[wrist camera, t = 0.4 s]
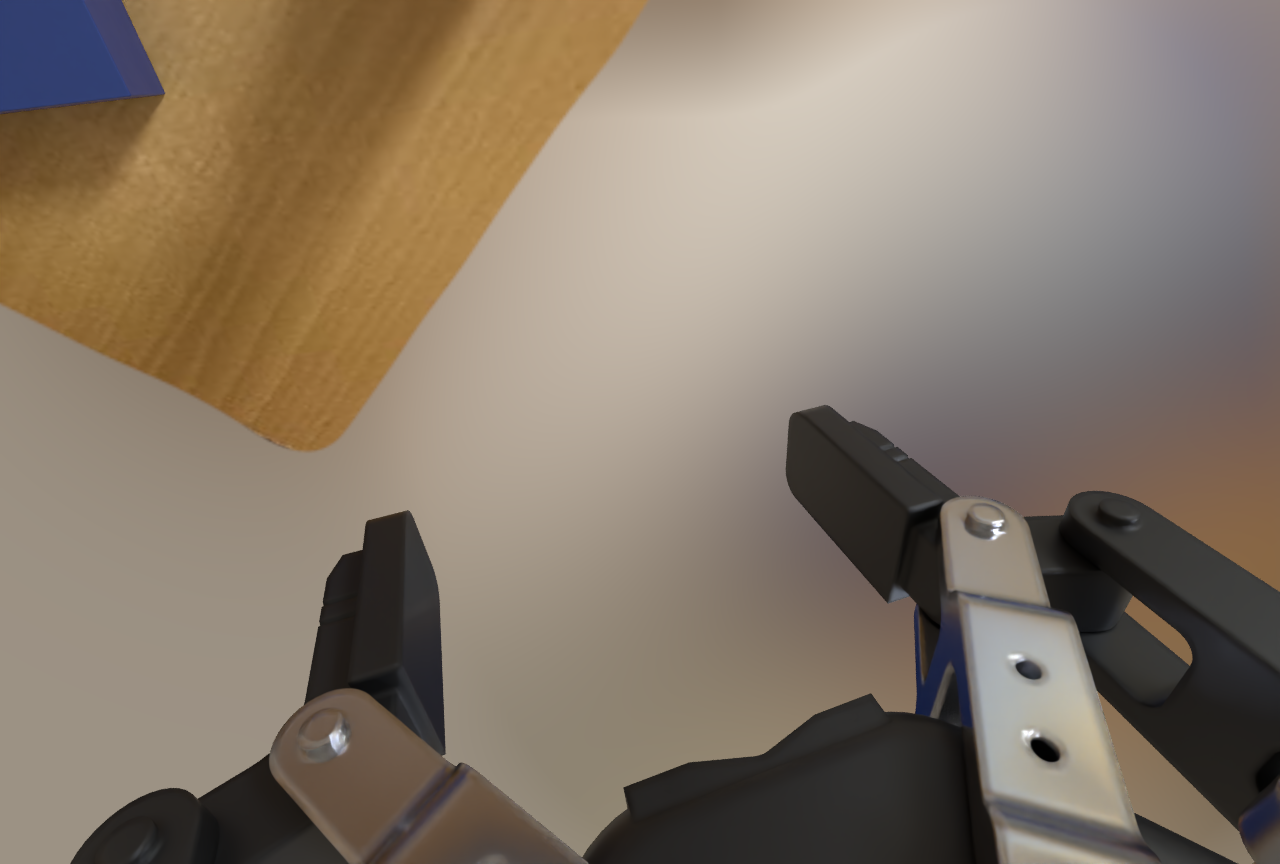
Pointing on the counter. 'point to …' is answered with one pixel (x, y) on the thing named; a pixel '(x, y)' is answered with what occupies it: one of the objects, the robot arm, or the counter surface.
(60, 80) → the blue knob base block
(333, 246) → the counter surface
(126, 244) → the counter surface
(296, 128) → the counter surface
